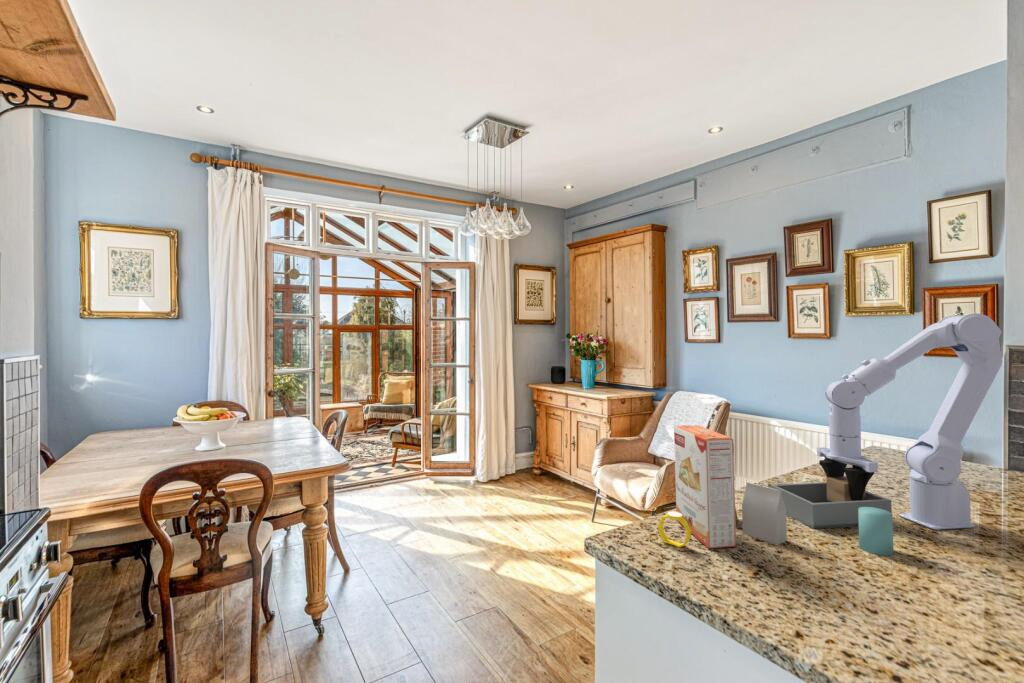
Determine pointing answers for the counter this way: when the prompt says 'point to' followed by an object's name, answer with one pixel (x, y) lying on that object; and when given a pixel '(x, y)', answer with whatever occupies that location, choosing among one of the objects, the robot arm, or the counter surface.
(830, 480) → the walnut cube
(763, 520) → the tea bag
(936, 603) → the counter surface
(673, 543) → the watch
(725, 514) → the cracker box
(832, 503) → the tote
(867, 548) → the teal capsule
